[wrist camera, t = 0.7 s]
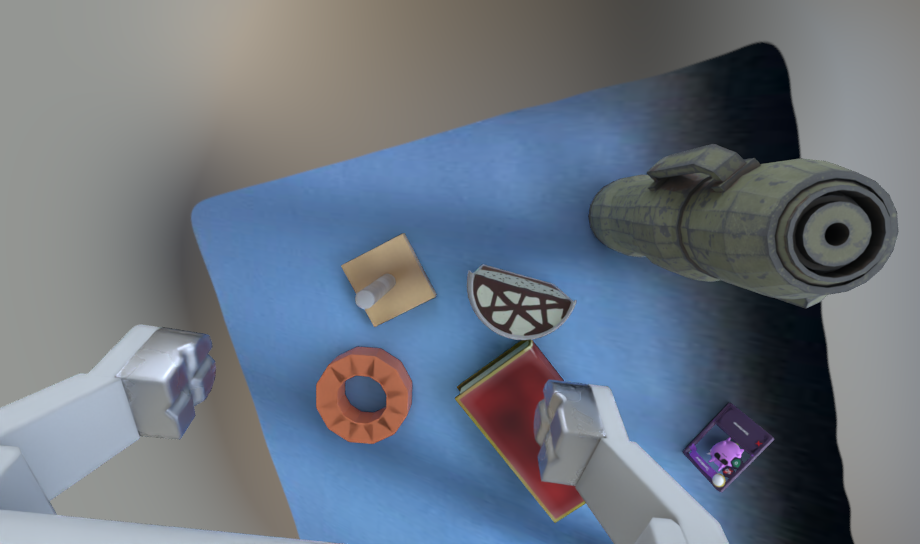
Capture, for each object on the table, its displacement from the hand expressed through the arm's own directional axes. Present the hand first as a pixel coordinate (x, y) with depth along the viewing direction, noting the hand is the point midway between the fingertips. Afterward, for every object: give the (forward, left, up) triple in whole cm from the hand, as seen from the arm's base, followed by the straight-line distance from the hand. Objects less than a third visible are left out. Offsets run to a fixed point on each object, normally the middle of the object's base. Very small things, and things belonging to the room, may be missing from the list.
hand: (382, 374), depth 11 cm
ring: (-12, +22, -47) cm, 53 cm away
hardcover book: (-26, +3, -47) cm, 54 cm away
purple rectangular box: (-38, -17, -47) cm, 63 cm away
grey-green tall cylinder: (-6, -18, -47) cm, 51 cm away
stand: (0, +12, -47) cm, 49 cm away
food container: (-9, -1, -47) cm, 48 cm away
